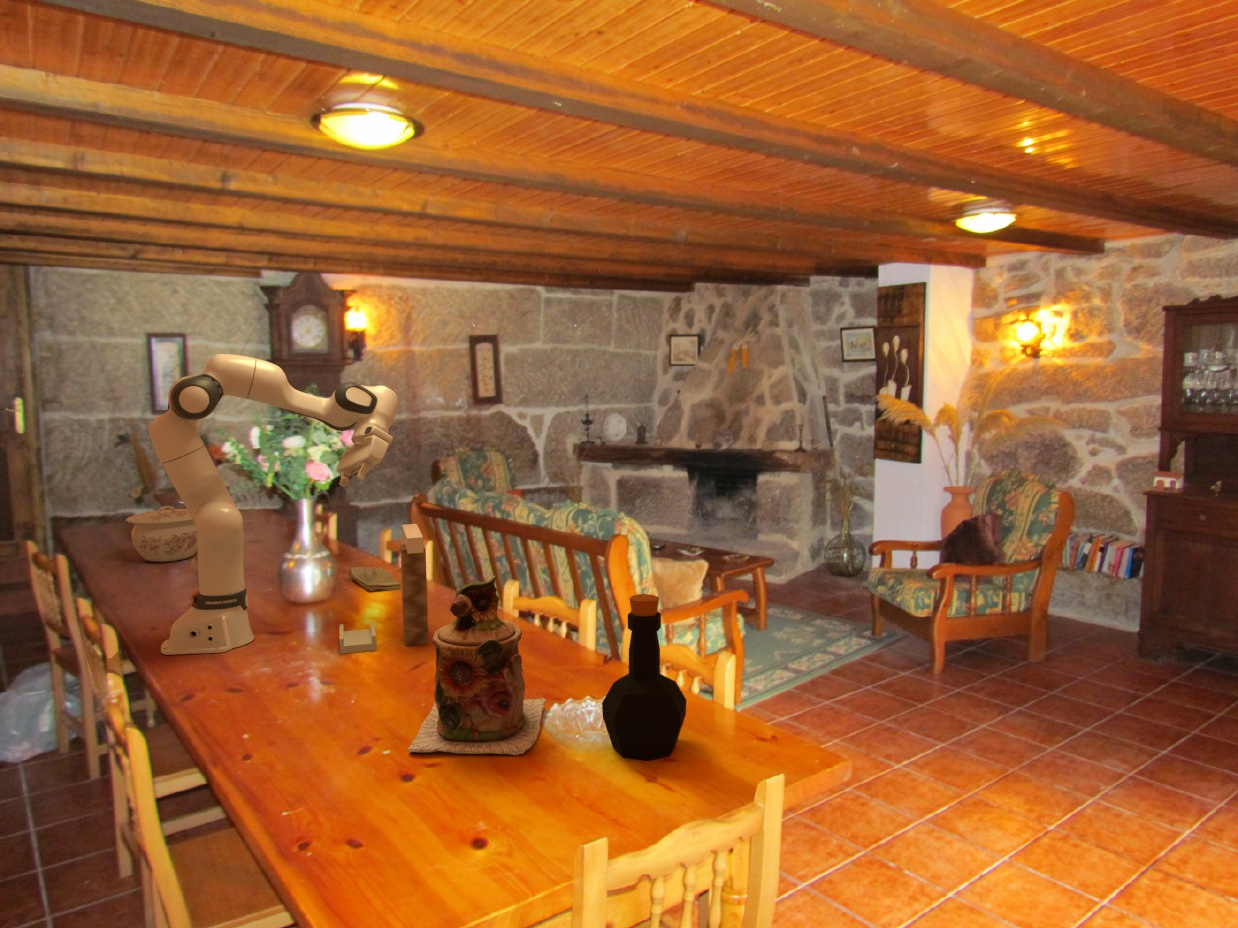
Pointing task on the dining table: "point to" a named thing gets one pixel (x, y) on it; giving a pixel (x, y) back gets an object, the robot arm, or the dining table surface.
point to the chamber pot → (164, 534)
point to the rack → (357, 640)
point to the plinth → (414, 597)
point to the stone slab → (373, 578)
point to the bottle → (644, 692)
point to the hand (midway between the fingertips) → (350, 482)
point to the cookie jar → (479, 682)
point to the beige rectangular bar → (412, 538)
